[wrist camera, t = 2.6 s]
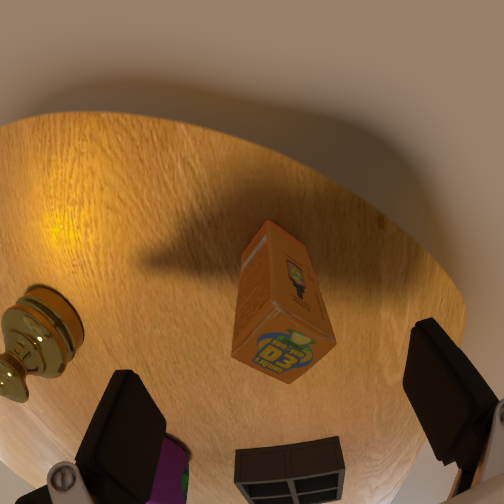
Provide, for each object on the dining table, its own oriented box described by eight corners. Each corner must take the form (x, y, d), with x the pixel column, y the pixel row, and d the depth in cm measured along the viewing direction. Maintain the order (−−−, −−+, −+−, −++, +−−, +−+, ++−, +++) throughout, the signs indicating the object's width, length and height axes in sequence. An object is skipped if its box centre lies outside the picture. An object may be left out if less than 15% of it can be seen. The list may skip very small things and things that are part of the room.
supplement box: (236, 257, 20) (222, 357, 11) (267, 217, 19) (278, 294, 10) (276, 282, 21) (289, 390, 12) (307, 245, 20) (347, 338, 10)
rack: (338, 435, 28) (345, 468, 24) (336, 473, 32) (341, 499, 28) (235, 449, 29) (233, 482, 25) (254, 484, 33) (254, 510, 29)
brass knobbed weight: (16, 285, 21) (-48, 342, 12) (69, 284, 21) (-2, 356, 12) (42, 347, 24) (-5, 410, 15) (95, 353, 24) (50, 432, 15)
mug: (99, 410, 27) (71, 476, 18) (193, 432, 28) (180, 508, 19) (125, 470, 34) (111, 518, 24) (195, 485, 34) (188, 537, 25)
